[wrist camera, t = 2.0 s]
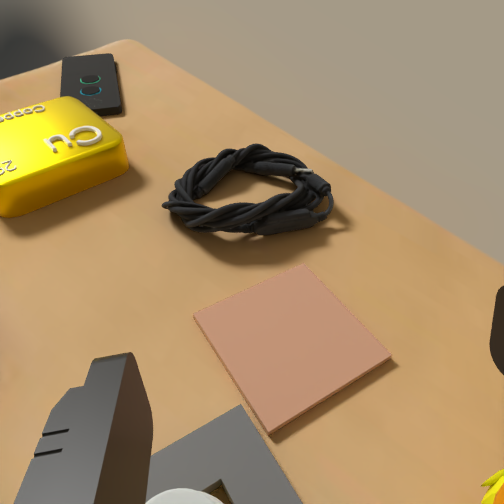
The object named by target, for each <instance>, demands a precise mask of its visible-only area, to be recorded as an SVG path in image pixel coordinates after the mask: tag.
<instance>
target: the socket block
mask: <svg viewBox="0 0 504 504" xmlns="http://www.w3.org/2000/svg"><path fill="white" fill-rule="evenodd" d="M221 485H222V487H223V488H224V490H225V492H226V494H227V496H228V498H229V500H230V502H231V504H303V503H302V502H301V500H300V499H299V497H298V495H297V494H296V492H295V490H294V489H293V487H292V486H291V484H290V482H289V481H288V479H287V478H286V476H285V474H284V473H283V471H282V470H281V468H280V466H279V465H278V463H277V461H276V460H275V458H274V457H273V455H272V453H271V452H270V450H269V449H268V447H267V445H266V444H265V442H264V440H263V439H262V437H261V436H260V434H259V432H258V431H257V429H256V428H255V426H254V424H253V423H252V421H251V420H250V418H249V416H248V415H247V413H246V411H245V410H244V408H243V407H242V405H241V404H240V405H238V406H236V407H235V408H233V409H231V410H230V411H228V412H226V413H224V414H223V415H221V416H219V417H217V418H216V419H214V420H212V421H211V422H209V423H207V424H205V425H204V426H202V427H200V428H198V429H197V430H195V431H193V432H192V433H190V434H188V435H186V436H185V437H183V438H181V439H179V440H178V441H176V442H174V443H172V444H171V445H169V446H167V447H166V448H164V449H162V450H160V451H159V452H157V453H155V454H153V455H152V456H151V458H150V467H149V476H148V485H147V494H146V502H147V501H149V500H150V499H151V498H153V497H154V496H156V495H158V494H160V493H162V492H164V491H167V490H171V489H177V488H187V489H193V490H196V491H201V492H205V493H207V494H209V493H210V492H212V491H213V490H215V489H216V488H218V487H219V486H221Z"/></svg>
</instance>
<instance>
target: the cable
mask: <svg viewBox="0 0 504 504" xmlns="http://www.w3.org/2000/svg"><path fill="white" fill-rule="evenodd" d="M232 169H234V170H244V171H245V172H253V173H256V174H260V175H266V176H268V175H275V176H289V178H290V179H291V181H292V182H293V183H295V184H296V185H297V187H298V188H297V189H296V190H295V191H294V192H293V193H283V194H278V195H276V196H273V197H271V198H270V199H268V200H266V201H265V202H262V203H258V204H254V203H234V204H229V205H226V206H223V207H221V208H218V209H213V208H210V207H207V206H204V205H201V204H196V203H194V202H193V200H194V199H196V198H201V197H202V196H203V195H206V194H207V193H208V192H209V191H210V190H211V189H212V188H213V187H214V186H215V185H216V184H217V183H218V181H219V180H220V179H221V178H222V177H223V176H224V175H225V174H226V173H228V172H229V171H230V170H232ZM175 188H176V189H175V190H173V191H172V192H171V193H170V194H169V197H168V198H169V201H168V202H165V203H163V204H162V207H163V208H165V209H168V210H170V211H171V212H174V213H176V214H177V215H179V216H180V217H181V218H182V221H183V223H184V224H185V226H186V227H188V228H189V229H191V230H193V231H196V232H203V233H207V232H217V231H224V232H233V233H237V232H243V233H253V232H254V233H257V234H258V235H270V234H276V233H282V232H287V231H293V230H299V229H304V228H309V227H312V226H313V225H315V224H316V223H318V222H320V221H323V220H325V219H326V218H327V215H328V214H329V213H330V212H331V210H332V208H333V196H332V194H331V186H330V184H329V183H328V182H326V181H325V180H324V179H322V178H321V177H320V176H318V175H317V174H314V172H313V170H312V169H308V168H307V167H306V165H305V164H304V163H303V162H301V161H300V160H299V159H297V158H295V157H293V156H291V155H288V154H285V153H278V152H273V151H271V150H270V149H268V148H267V147H265V146H263V145H261V144H252V145H249V146H248V147H246V148H242V149H239V150H235V149H225V150H223V151H221V152H220V153H219V154H218V155H217V157H216V158H206V159H203V160H200V161H199V162H197V163H196V164H195V165H194V166H193V167H192V168H190V169H188V170H187V171H186V172H185V174H184V175H183V178H181V179H178V180H176V182H175ZM324 196H328V198H329V207H328V209H327V210H326V211H325V212H324V211H323V212H321V213H314V212H313V209H314V208H316V207H317V206H318V205H319V204H320V203H321V202H322V200H323V198H324ZM316 197H317V198H316ZM315 198H316V199H315ZM314 199H315V201H313V200H314ZM311 201H313V202H312V203H311ZM199 225H200V226H199Z"/></svg>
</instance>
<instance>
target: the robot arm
mask: <svg viewBox="0 0 504 504" xmlns="http://www.w3.org/2000/svg"><path fill="white" fill-rule="evenodd" d="M490 352H491V356H492V358H493V361H494V363H495V365H496V366H497V368H498V369H499V370H500V372H501V373H502V374H503V375H504V286H502V287H501V288H500V289H499V290H498V292H497V295H496V301H495V308H494V315H493V322H492V329H491V336H490ZM152 440H153V419H152V412H151V407H150V404H149V400H148V397H147V394H146V391H145V388H144V385H143V381H142V378H141V375H140V372H139V369H138V366H137V362H136V360H135V357H134V355H133V354H132V353H131V352H128V353H123V354H117V355H112V356H106V357H101V358H95V359H94V360H93V361H92V363H91V366H90V369H89V372H88V375H87V378H86V381H85V384H84V386H81V387H76V388H70V389H69V390H68V391H67V393H66V394H65V395H64V396H63V397H62V398H61V400H60V401H59V402H58V403H57V404H56V405H55V407H54V408H53V409H52V410H51V413H50V415H49V418H48V420H47V423H46V425H45V427H44V430H43V432H42V438H40V440H39V442H38V445H37V447H36V450H35V452H34V459H32V460H31V462H30V465H29V467H28V470H27V472H26V474H25V477H24V479H23V482H22V484H21V487H20V489H19V492H18V494H17V497H16V499H15V502H14V504H145V503H146V494H147V485H148V476H149V467H150V458H151V449H152Z"/></svg>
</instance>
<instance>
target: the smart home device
mask: <svg viewBox="0 0 504 504" xmlns="http://www.w3.org/2000/svg"><path fill="white" fill-rule="evenodd" d="M116 73H117V70H116V65H115V63H114V58H113V55H112V54H97V55H85V56H73V57H65V58H63V60H62V76H61V92H60V97H65V96H70V97H73V98H76V99H78V100H80V101H81V102H82V103H83V104H85V105H86V106H87V107H88V108H90V109H91V110H92V111H93V112H94V113H96V114H97V115H98V116H107V115H115V114H120V113H121V112H122V107H121V101H120V94H119V88H118V82H117V76H116Z"/></svg>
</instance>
